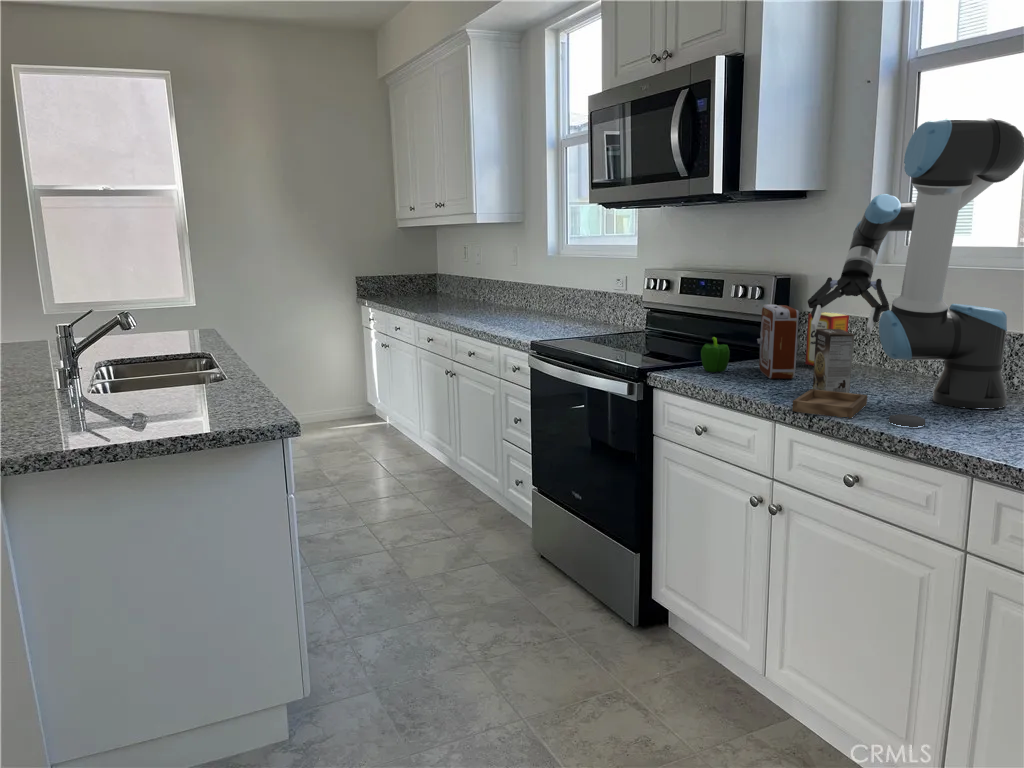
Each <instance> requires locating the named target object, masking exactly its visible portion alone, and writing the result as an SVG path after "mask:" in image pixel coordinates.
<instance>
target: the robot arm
mask: <svg viewBox="0 0 1024 768" xmlns="http://www.w3.org/2000/svg"><path fill="white" fill-rule="evenodd" d="M1023 163H1024V131H1023V130H1022V129H1021V128H1020V127H1019V125H1017V124H1016V123H1014V122H1013V121H1010V120H1007V119H1006V118H1005V119H1004V118H1001V117H1000V118H999V117H988V118H952V119H951V118H950V119H949V118H945V119H943V118H942V119H934V120H929V121H925V122H924V123H922V124H920V125H918V127H917V128H916V129H915V131H914V132H913V133H912V135H911V136H910V138H909V141H908V144H907V147H906V150H905V152H904V160H903V164H904V165H903V166H904V172H905V173H906V175H907V176H908V177H910V178H911V185H912V186H913V187H914V189H915V190H916V191H917V195H916V201H900V200H899V199H898V197H896V196H894V195H890V194H889V193H882V194H878V195H876V196H875V197H873V199H871V201H870V203H869V204H868V205H867V207H866V209H865V212H864V213H863V216H862V219H861V220H860V221H858V223H857V224H856V227H855V229H854V230H853V232H852V233H853V234H852V239H851V243H850V246H849V249H848V252H847V254H846V257H845V261H844V264H843V267H842V271H841V273H840V277H839V279H838V280H837V279H833V277H828V278H826V281H825V283H824V284H823V285H822V286H821V287H820V288H819V289H818V290H817V291H816V292H815V293H814V294H813V295H812V296H811V297H810V298H809V299H808V300H807V305H808V308H809V309H812V310H811V316H812V319H813V321H812V328H813V330H816V329H817V326H818V322H819V319H820V316H821V313H822V312H823V310H822V309H823V308H824V307H826V306H827V305H828V304H829V305H830V304H831V303H832V302H834V301H835V300H837V299H838V298H842V297H843V296H844V295H845V297H851V296H852V297H859V296H861V297H862V298H863V299H864V300H865V301H866V302H867V304H869V306H870V307H871V310H870V313H869V317H868V320H867V323H866V332H867V334H868V335H871V334H872V332H873V327H874V324H875V323H878V335H879V340H880V344H881V348H882V350H883V352H884V353H885V354H886V356H887V357H889V358H890V359H892V360H900V361H901V360H902V361H903V360H904V361H908V362H909V361H924V360H925V361H928V360H929V361H930V360H931V361H933V360H935V361H938V360H939V361H941V360H944V366H943V370H942V372H941V374H940V376H939V378H938V380H937V383H936V385H935V386H934V389H933V394H932V401H933V402H934V403H937V404H940V405H943V404H944V405H943V406H947V405H949V407H952V406H955V407H954V408H958V407H965V408H964V409H966V408H999V407H1003V406H1005V405H1006V406H1007V401H1008V395H1007V391H1006V389H1005V383H1004V380H1003V375H1002V367H1003V366H1002V365H1003V359H1004V353H1005V342H1006V336H1007V331H1008V328H1007V327H1008V325H1007V323H1008V317H1007V314H1006V313H1005V311H1003V310H1001V309H997V308H992V307H991V308H990V307H984V306H978V305H970V304H962V303H961V304H960V303H952V304H950V305H948V304H947V303H946V301H945V300H944V299H943V296H944V292H945V287H946V280H947V274H948V271H949V265H950V259H951V253H952V248H953V242H954V237H955V231H956V227H957V221H958V216H959V211H960V210H962V209H963V208H964V207H965V206H966V205H968V204H969V203H971V201H973V200H974V199H975V198H977V197H978V196H979V195H980V194H981V193H983V192H985V190H986V189H989V187H991V186H992V185H993V184H996V183H1001V182H1004V181H1005V180H1007V179H1008V178H1010V177H1012V175H1013V174H1015V173H1016V171H1018V169H1020V168H1021V166H1022V165H1023ZM889 232H910V237H909V241H908V242H909V243H908V250H907V254H906V256H907V257H906V262H905V268H904V274H903V280H902V286H901V291H900V295H899V296H898V297H896V298H895V299H894V300H893V301H892V302H891V309H890V304H889V301H888V298H887V296H886V294H885V291H884V289H883V283H882V279H881V278H877V279H876V280H872V278H873V277H872V276H873V273H874V268H875V266H876V262H877V259H878V254H879V252H880V249H881V246H882V243H883V242H884V239H885V238H886V236H887V235H888V233H889ZM871 287H872V288H873V289H874V290H875V291H876V294H877V296H878V299H879V301H880V303H879V302H878V300H877V299H876V298H875V297H874V296H873V295H872V294H871V293H870V291H869V289H870V288H871ZM832 289H833V290H832ZM1006 406H1005V407H1006Z"/></svg>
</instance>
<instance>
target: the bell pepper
mask: <svg viewBox="0 0 1024 768" xmlns="http://www.w3.org/2000/svg"><path fill="white" fill-rule="evenodd" d="M717 339H718V338H717V337H715V336H712V338H711V340H712V341H713V343H705V344H704V345H703V346H702V347H701V349H700V358H701V364H702V368H703V369H704V370H705V372H709V373H716V372H717V373H718V372H719V373H720V372H721V373H723V372H725V371H726V370H727V367H728V364H729V360H730V356H731V353H730V352H731V350H730V348H729V346H728V345H729V344H724V343H722V344H719V343H718V340H717Z"/></svg>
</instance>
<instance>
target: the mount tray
mask: <svg viewBox="0 0 1024 768" xmlns="http://www.w3.org/2000/svg"><path fill="white" fill-rule="evenodd" d="M867 404H868V394H861V393H853V392H849V393H844V392H835V391H825V390H816V389H813V388H810V389H809V390H807V391H806V392H803V394H801V395H800V396H798V397H797V398H795V399H793V400H792V407H791V408H792V411H791V412H796V413H804V414H811V415H812V414H813V415H820V416H825V417H826V416H827V417H834V416H837V417H836V418H842V417H849V418H848V419H850V418H852V417H853V416H854V415H855V414H856V413H858V412H859V411H860V410H861V409H862V408H863V407H864V406H865V407H866V406H867ZM865 407H864V408H865ZM864 408H863V409H864ZM863 409H862V410H863ZM862 410H861V411H862ZM861 411H860V412H861ZM860 412H859V413H860ZM859 413H858V414H859ZM856 415H857V414H856ZM856 415H855V416H856ZM855 416H854V417H855ZM854 417H853V418H854ZM853 418H852V419H853Z"/></svg>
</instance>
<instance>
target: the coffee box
mask: <svg viewBox="0 0 1024 768" xmlns="http://www.w3.org/2000/svg"><path fill="white" fill-rule="evenodd" d="M854 344H855V334H854V333H851V332H850V331H848V332H847V331H844V330H841V329H816V342H815V359H814V366H813V379H812V389H816V390H825V391H835V392H844V393H850V388H851V380H852V379H851V378H852V377H851V376H852V367H853V354H854Z"/></svg>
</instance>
